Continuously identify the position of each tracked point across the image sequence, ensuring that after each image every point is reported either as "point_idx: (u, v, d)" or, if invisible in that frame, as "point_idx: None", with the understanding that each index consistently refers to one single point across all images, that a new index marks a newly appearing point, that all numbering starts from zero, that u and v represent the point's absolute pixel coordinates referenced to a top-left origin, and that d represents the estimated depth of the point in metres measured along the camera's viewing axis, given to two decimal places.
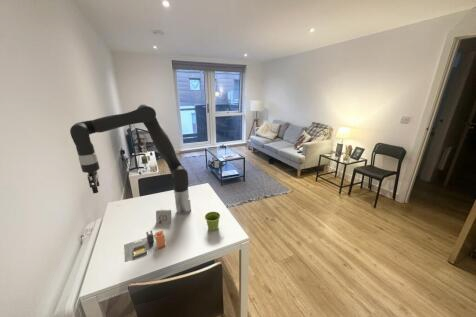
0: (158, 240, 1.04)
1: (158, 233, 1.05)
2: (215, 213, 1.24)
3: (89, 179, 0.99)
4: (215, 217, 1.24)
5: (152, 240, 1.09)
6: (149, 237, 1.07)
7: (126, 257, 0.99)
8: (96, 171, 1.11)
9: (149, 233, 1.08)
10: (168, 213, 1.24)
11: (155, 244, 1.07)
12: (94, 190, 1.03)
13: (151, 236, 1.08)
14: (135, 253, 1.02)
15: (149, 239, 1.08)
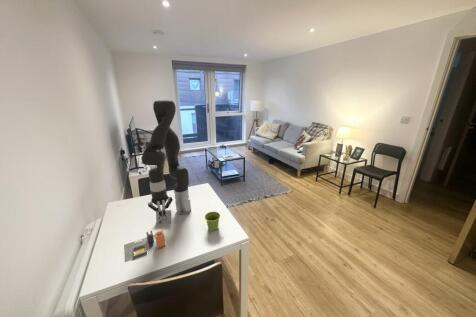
0: (158, 240, 1.04)
1: (158, 233, 1.05)
2: (215, 213, 1.24)
3: None
4: (215, 217, 1.24)
5: (152, 240, 1.09)
6: (149, 237, 1.07)
7: (126, 257, 0.99)
8: None
9: (149, 233, 1.08)
10: (168, 213, 1.24)
11: (155, 244, 1.07)
12: None
13: (151, 236, 1.08)
14: (135, 253, 1.02)
15: (149, 239, 1.08)
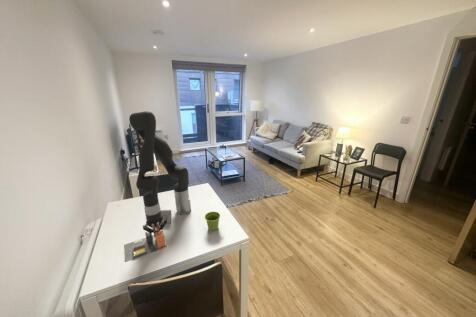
0: (158, 240, 1.04)
1: (158, 233, 1.05)
2: (215, 213, 1.24)
3: None
4: (215, 217, 1.24)
5: (151, 240, 1.09)
6: (148, 237, 1.07)
7: (126, 257, 0.99)
8: (146, 226, 1.08)
9: (148, 233, 1.08)
10: (168, 213, 1.24)
11: (155, 244, 1.07)
12: None
13: (150, 236, 1.08)
14: (135, 253, 1.02)
15: (148, 239, 1.08)
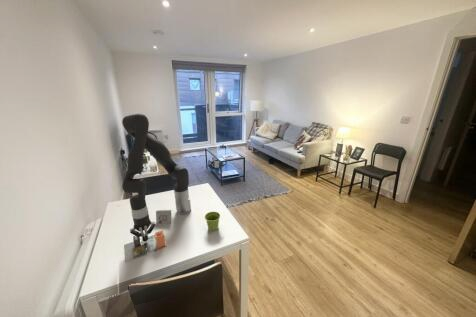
0: (158, 240, 1.04)
1: (158, 233, 1.05)
2: (215, 213, 1.24)
3: None
4: (215, 217, 1.24)
5: (139, 244, 1.06)
6: (136, 241, 1.04)
7: (126, 257, 0.99)
8: (134, 230, 1.05)
9: (136, 237, 1.05)
10: (168, 213, 1.24)
11: (155, 244, 1.07)
12: (147, 236, 1.09)
13: (138, 240, 1.05)
14: (135, 253, 1.02)
15: (136, 243, 1.05)
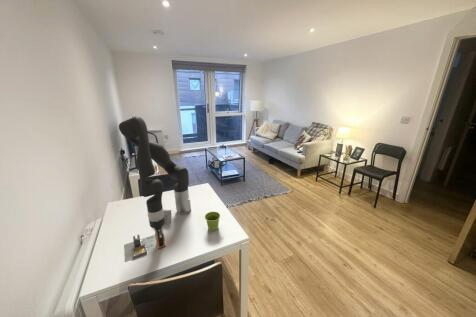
0: None
1: None
2: (215, 213, 1.24)
3: None
4: (215, 217, 1.24)
5: (139, 244, 1.06)
6: (136, 241, 1.04)
7: (126, 257, 0.99)
8: (158, 237, 1.00)
9: (136, 237, 1.05)
10: (168, 213, 1.24)
11: (155, 244, 1.07)
12: None
13: (138, 240, 1.05)
14: (135, 253, 1.02)
15: (136, 243, 1.05)
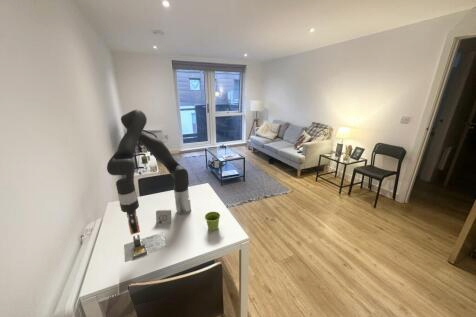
0: None
1: None
2: (215, 213, 1.24)
3: None
4: (215, 217, 1.24)
5: (139, 244, 1.06)
6: (136, 241, 1.04)
7: (126, 257, 0.99)
8: (129, 222, 0.91)
9: (136, 237, 1.05)
10: (168, 213, 1.24)
11: (155, 244, 1.07)
12: None
13: (138, 240, 1.05)
14: (135, 253, 1.02)
15: (136, 243, 1.05)
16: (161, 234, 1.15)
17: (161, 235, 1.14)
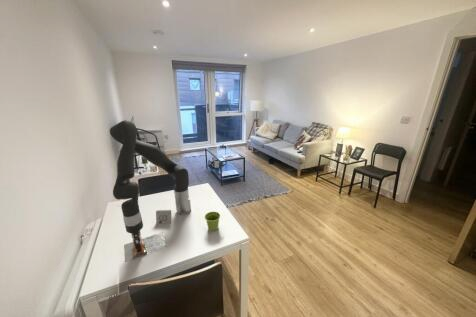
0: None
1: None
2: (215, 213, 1.24)
3: None
4: (215, 217, 1.24)
5: None
6: None
7: (126, 257, 0.99)
8: (134, 242, 0.94)
9: None
10: (168, 213, 1.24)
11: (155, 244, 1.07)
12: None
13: None
14: None
15: None
16: (161, 234, 1.15)
17: (161, 235, 1.14)
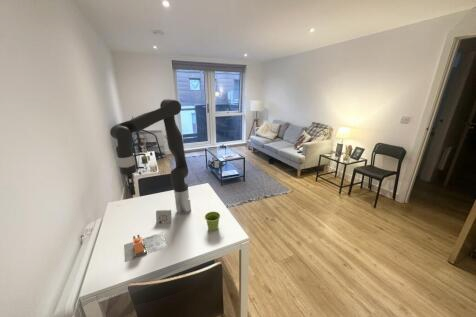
0: (136, 247, 0.99)
1: (136, 240, 1.00)
2: (215, 213, 1.24)
3: None
4: (215, 217, 1.24)
5: None
6: None
7: (126, 257, 0.99)
8: (127, 182, 1.00)
9: (136, 237, 1.05)
10: (168, 213, 1.24)
11: (155, 244, 1.07)
12: None
13: None
14: None
15: None
16: (161, 234, 1.15)
17: (161, 235, 1.14)
